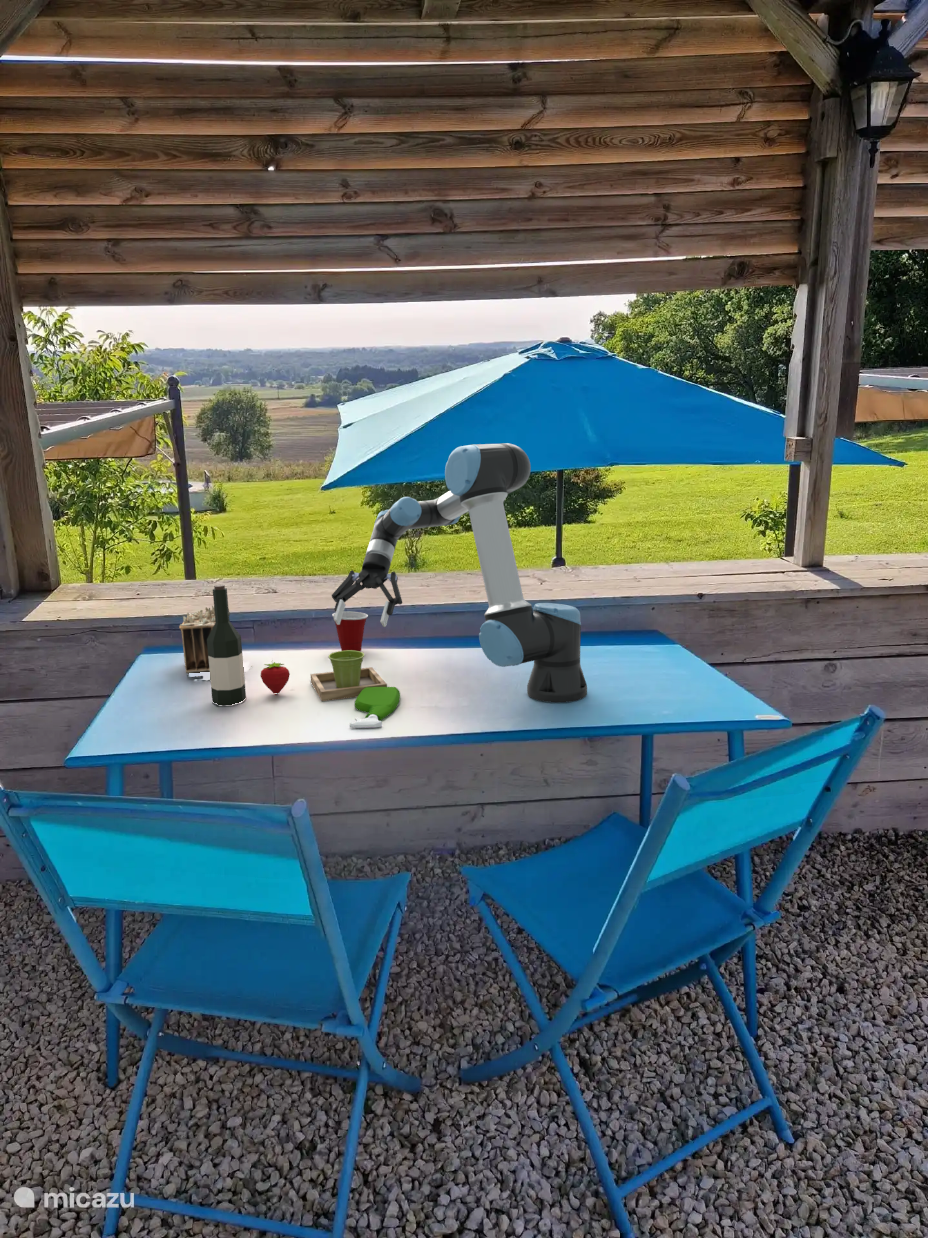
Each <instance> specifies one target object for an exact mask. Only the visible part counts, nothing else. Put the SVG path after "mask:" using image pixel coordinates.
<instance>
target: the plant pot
mask: <svg viewBox="0 0 928 1238" xmlns="http://www.w3.org/2000/svg"><path fill="white" fill-rule="evenodd" d="M364 657H365V653H364V652H363V651H361V652H360V651H353V650H346V651H341V650H340V651H339V650H338V651H334V652H332V653H330V654H328V659H329V660H330V663H331V667H332V672H334V677H335V682H336V687H338V688H347V687H355V686H359V685H360V674H361V668H362V663H363V660H364Z"/></svg>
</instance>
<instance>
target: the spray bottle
mask: <svg viewBox="0 0 928 1238" xmlns="http://www.w3.org/2000/svg"><path fill="white" fill-rule="evenodd" d="M400 699H401V692H400V689H398V688H397V687H396V686H387V687H366V688H364V689H363V690H362V691H361V692H360V694H359V695H358V696H357V697H355V701H354V709H356V710H357V711H359V712H362V713H366V715H365V717H364V718H362V719H360V718H359V717H354V720H355V722H349V724H348V725H349V728H350V729H351V728H352V729H353V728H355V729H369V728H371V729H372V728H382V727H383V723H382V722H383V721H382V720H383V719H385V718H387V717H388V716H389V715H390V714H392V713H394V712H395V710H396V709H397V708H398V706H399V704H400Z"/></svg>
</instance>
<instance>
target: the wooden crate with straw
mask: <svg viewBox="0 0 928 1238" xmlns="http://www.w3.org/2000/svg"><path fill="white" fill-rule="evenodd" d="M204 610H205V612H204ZM204 610H202V609H200V610H199V611H197V612H195V613H190V612H187V613H186V616H184V615H183V617H182V620H183V621H182V623H180V624H179V627H178V628H179V630H180V632H181V640H182V649H183V659H184V660H183V661H184V668H185V674H187V675H189V673H200V672H210V669H209V658H208V647H207V638H208V636H209V634H210V632H211V630H212V628H213V626H214V624H215V623H216V622H215V611H214V605H211V608H210V607H205V609H204ZM230 615H231V613H230V611H229V617H230Z"/></svg>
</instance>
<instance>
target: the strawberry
mask: <svg viewBox="0 0 928 1238" xmlns="http://www.w3.org/2000/svg"><path fill="white" fill-rule="evenodd" d="M263 665H264V666H266V667H263V669H262V670H261V671H260V678H261V680H262V683H263V684H264V685H265V686H266V687H267V689H269V690H270V691H271V692H272V693H273V694H274V693H279V694H280V693H281V691H282V690H283V689H284V688H285V686H286V685H287V684H288V682H289V679H290V675H291V673H290V670H289V668H287V667H285V663H281V662H275V661H274V662H271V663H264V664H263Z"/></svg>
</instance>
